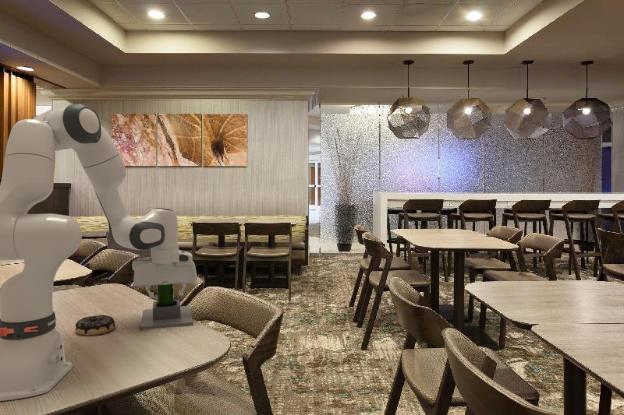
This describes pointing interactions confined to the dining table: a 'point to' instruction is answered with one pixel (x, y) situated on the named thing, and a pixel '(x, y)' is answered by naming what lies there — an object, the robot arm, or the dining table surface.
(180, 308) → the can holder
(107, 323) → the donut
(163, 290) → the beer can
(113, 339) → the dining table surface
